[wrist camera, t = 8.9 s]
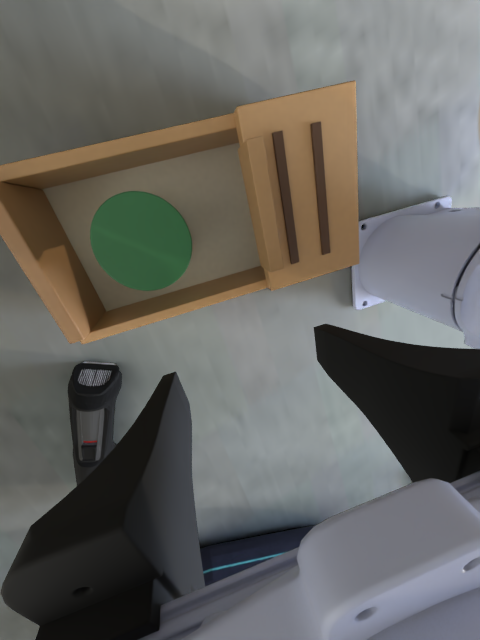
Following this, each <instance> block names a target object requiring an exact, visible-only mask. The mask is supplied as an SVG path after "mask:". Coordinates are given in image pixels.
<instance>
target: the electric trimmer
mask: <svg viewBox="0 0 480 640" xmlns="http://www.w3.org/2000/svg"><path fill="white" fill-rule="evenodd" d="M116 364H117V363H116ZM121 384H122V373H121V372H120V371H119V367H118V366H117V365H115V363H102V362H101V363H99V362H86V361H85V362H84V363H80V364H78V365H76V366H75V367H74V370H73V372H72V376H71V378H70V381H69V384H68V397H69V411H70V422H71V431H72V440H73V459H74V467H75V474H76V482H77V486H78V485H79V484H80V483H81V482H82V481H83V480H84V479H85V478H86V477H87V476H88V475H89V474H90V473H91V472H92V471H93V470H94V469H95V468H96V467H97V466H98V465H99V464H100V463H101V462H102V461H103V460H104V459H105V458H106V456H107V455H108V454H109V453H110V452H111V451H112V450H113V449H114V448H115V447H116V444H115V443H114V442H113V424H114V411H115V402H116V398H117V395H118V393H119V391H120V388H121Z"/></svg>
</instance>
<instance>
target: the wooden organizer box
mask: <svg viewBox="0 0 480 640" xmlns="http://www.w3.org/2000/svg"><path fill="white" fill-rule="evenodd" d="M127 191H143V192H148V193H151V194H154V195H157V196H159V197H161V198H163V199H164V200H166V201H167V202H169V203H170V204H171V205H172V206H174V207H175V208H176V209H177V210H178V212H179V213H180V214H181V215H182V217H183V218H184V220H185V222H186V224H187V226H188V228H189V231H190V234H191V238H192V256H191V260H190V263H189V265H188V268H187V269H186V271H185V273H184V274H183V275H182V276H181V277H180V278H179V279H178V280H177V281H176V282H175V283H173V284H172V285H170V286H168V287H165V288H163V289H159V290H153V291H142V290H136V289H132V288H129V287H126V286H124V285H122V284H120V283H118V282H117V281H115V280H114V279H113V278H111V277H110V276H109V275H108V274H107V273H106V272H105V271H104V270H103V269H102V267H101V266H100V265H99V263H98V261H97V260H96V258H95V255H94V253H93V250H92V247H91V241H90V228H91V223H92V220H93V217H94V215H95V213H96V211H97V210H98V208H99V207H100V206H101V205H102V204H103V203H104V202H105V201H106V200H107V199H109V198H110V197H112V196H114V195H116V194H119V193H122V192H127ZM0 235H1V237H2V238H3V240H4V241H5V243H6V244H7V246H8V247H9V249H10V251H11V252H12V254H13V255H14V257H15V258H16V260H17V262H18V263H19V265H20V266H21V268H22V269H23V271H24V273H25V274H26V276H27V277H28V279H29V280H30V282H31V284H32V285H33V287H34V288H35V290H36V291H37V293H38V295H39V296H40V298H41V299H42V301H43V302H44V304H45V306H46V307H47V309H48V310H49V312H50V313H51V315H52V317H53V318H54V320H55V321H56V323H57V324H58V326H59V328H60V329H61V331H62V332H63V334H64V335H65V337H66V339H67V340H68V342H69V343H70V344H71V343H75V342H78V341H80V342H81V343H82V344H85V343H89V342H92V341H95V340H98V339H102V338H105V337H108V336H111V335H115V334H118V333H121V332H124V331H128V330H131V329H134V328H137V327H141V326H144V325H147V324H150V323H154V322H157V321H160V320H164V319H167V318H170V317H173V316H177V315H180V314H183V313H186V312H190V311H193V310H196V309H199V308H203V307H206V306H209V305H212V304H216V303H219V302H222V301H225V300H229V299H232V298H235V297H238V296H242V295H245V294H248V293H251V292H255V291H258V290H261V289H264V288H269V289H270V290H271V291H273V290H276V289H279V288H283V287H286V286H289V285H292V284H295V283H299V282H302V281H305V280H308V279H312V278H315V277H318V276H321V275H325V274H328V273H331V272H334V271H337V270H341V269H344V268H347V267H350V266H354V265H357V264H359V263H360V261H359V214H358V167H357V119H356V82H355V81H350V82H345V83H341V84H336V85H332V86H327V87H323V88H318V89H314V90H309V91H305V92H300V93H296V94H291V95H286V96H282V97H277V98H273V99H268V100H264V101H259V102H255V103H250V104H246V105H241V106H238V107H236V109H235V111H234V113H231V114H227V115H222V116H218V117H213V118H209V119H204V120H200V121H196V122H191V123H187V124H182V125H178V126H173V127H169V128H164V129H160V130H155V131H151V132H146V133H142V134H138V135H133V136H129V137H124V138H120V139H115V140H111V141H106V142H102V143H97V144H93V145H88V146H84V147H79V148H75V149H71V150H66V151H62V152H57V153H53V154H48V155H44V156H39V157H35V158H30V159H26V160H21V161H17V162H12V163H8V164H4V165H0Z"/></svg>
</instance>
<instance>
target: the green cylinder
mask: <svg viewBox="0 0 480 640" xmlns="http://www.w3.org/2000/svg"><path fill="white" fill-rule="evenodd" d="M90 241H91V247H92V250H93V253H94V255H95V258H96V260H97V261H98V263H99V265H100V266H101V267H102V269H103V270H104V271H105V272H106V273H107V274H108V275H109V276H110V277H111V278H113V279H114V280H115V281H117V282H118V283H120V284H122V285H124V286H126V287H129V288H132V289H136V290H142V291H153V290H159V289H163V288H165V287H168V286H170V285H172V284H173V283H175V282H176V281H177V280H178V279H179V278H180V277H181V276H182V275H183V274H184V273H185V271H186V269H187V268H188V265H189V263H190V260H191V256H192V238H191V234H190V231H189V228H188V226H187V224H186V222H185V220H184V218H183V217H182V215H181V214H180V213H179V212H178V210H177V209H176V208H175V207H174V206H172V205H171V204H170V203H169V202H167V201H166V200H164V199H163V198H161V197H159V196H157V195H154V194H151V193H148V192H143V191H127V192H122V193H119V194H116V195H114V196H112V197H110V198H109V199H107V200H106V201H105V202H104V203H103V204H102V205H101V206H100V207H99V208H98V210H97V211H96V213H95V215H94V217H93V220H92V223H91V228H90Z"/></svg>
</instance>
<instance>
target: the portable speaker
mask: <svg viewBox="0 0 480 640" xmlns="http://www.w3.org/2000/svg"><path fill="white" fill-rule="evenodd" d="M314 526H316V525H313V526H308V527H303V528H298V529H293V530H288V531H283V532H278V533H272V534H267V535H262V536H257V537H252V538H247V539H242V540H237V541H232V542H227V543H221V544H216V545H211V546H207V547H204V548H202V549H200V553H201V561H202V568H203V575H204V582H205V586H208V585H210V584H213V583H215V582H217V581H220V580H222V579H224V578H227V577H229V576H231V575H234V574H236V573H239V572H241V571H243V570H246V569H248V568H250V567H253V566H255V565H258V564H260V563H262V562H265V561H267V560H269V559H272V558H274V557H276V556H279V555H281V554H284V553H286V552H288V551H291V550H293V549H295V548H298V547H299V546H300V543H301V540H302V539H303V538H304V537H305V536H306V534H307V533H308V532H309V531H310V530H311V529H312V528H313V527H314Z"/></svg>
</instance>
